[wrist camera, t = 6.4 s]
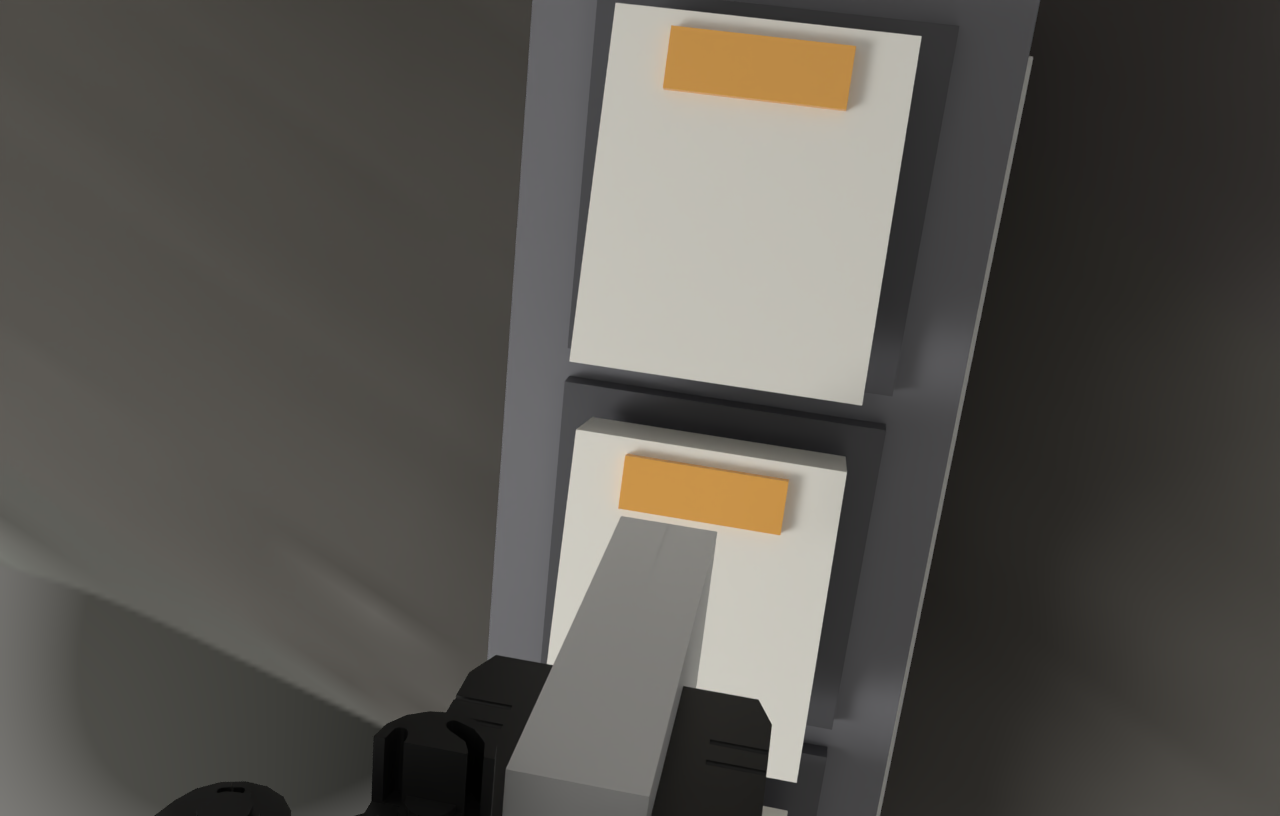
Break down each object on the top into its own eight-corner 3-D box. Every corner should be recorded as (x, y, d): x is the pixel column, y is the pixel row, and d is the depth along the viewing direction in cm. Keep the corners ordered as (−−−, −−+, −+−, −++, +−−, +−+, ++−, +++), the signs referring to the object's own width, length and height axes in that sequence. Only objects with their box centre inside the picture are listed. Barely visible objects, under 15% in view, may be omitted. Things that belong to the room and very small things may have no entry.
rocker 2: (555, 701, 25) (535, 737, 23) (592, 416, 24) (574, 430, 22) (798, 747, 24) (796, 788, 22) (845, 456, 23) (846, 474, 21)
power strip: (507, 979, 36) (450, 1137, 31) (593, -44, 27) (530, -57, 21) (813, 1047, 35) (805, 1222, 30) (1016, 1, 25) (1055, -2, 20)
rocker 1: (586, 355, 22) (566, 362, 20) (630, 22, 21) (613, 0, 20) (858, 396, 21) (862, 406, 20) (913, 54, 21) (922, 34, 19)
